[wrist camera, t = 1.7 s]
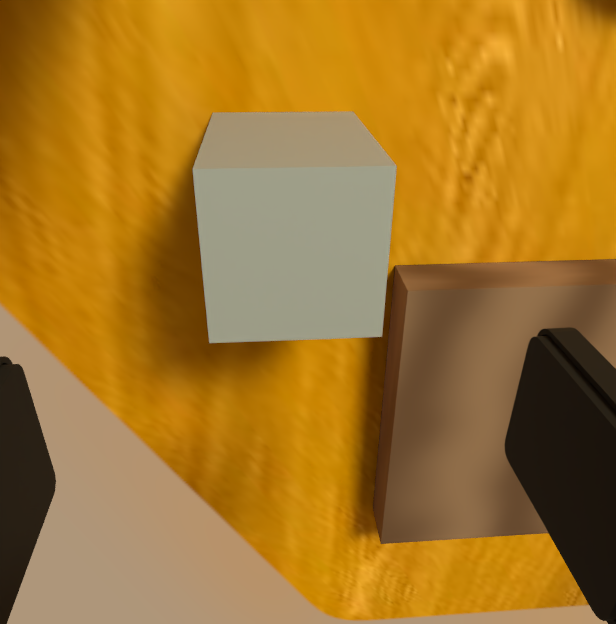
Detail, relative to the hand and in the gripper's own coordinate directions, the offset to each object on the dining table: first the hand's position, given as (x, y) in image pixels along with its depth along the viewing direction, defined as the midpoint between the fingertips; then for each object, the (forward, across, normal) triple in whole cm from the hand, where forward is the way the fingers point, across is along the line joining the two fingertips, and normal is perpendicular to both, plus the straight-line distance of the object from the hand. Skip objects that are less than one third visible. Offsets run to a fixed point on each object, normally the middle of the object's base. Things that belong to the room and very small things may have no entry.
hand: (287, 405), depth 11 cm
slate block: (+15, -1, 0) cm, 15 cm away
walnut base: (+14, -14, +12) cm, 23 cm away
